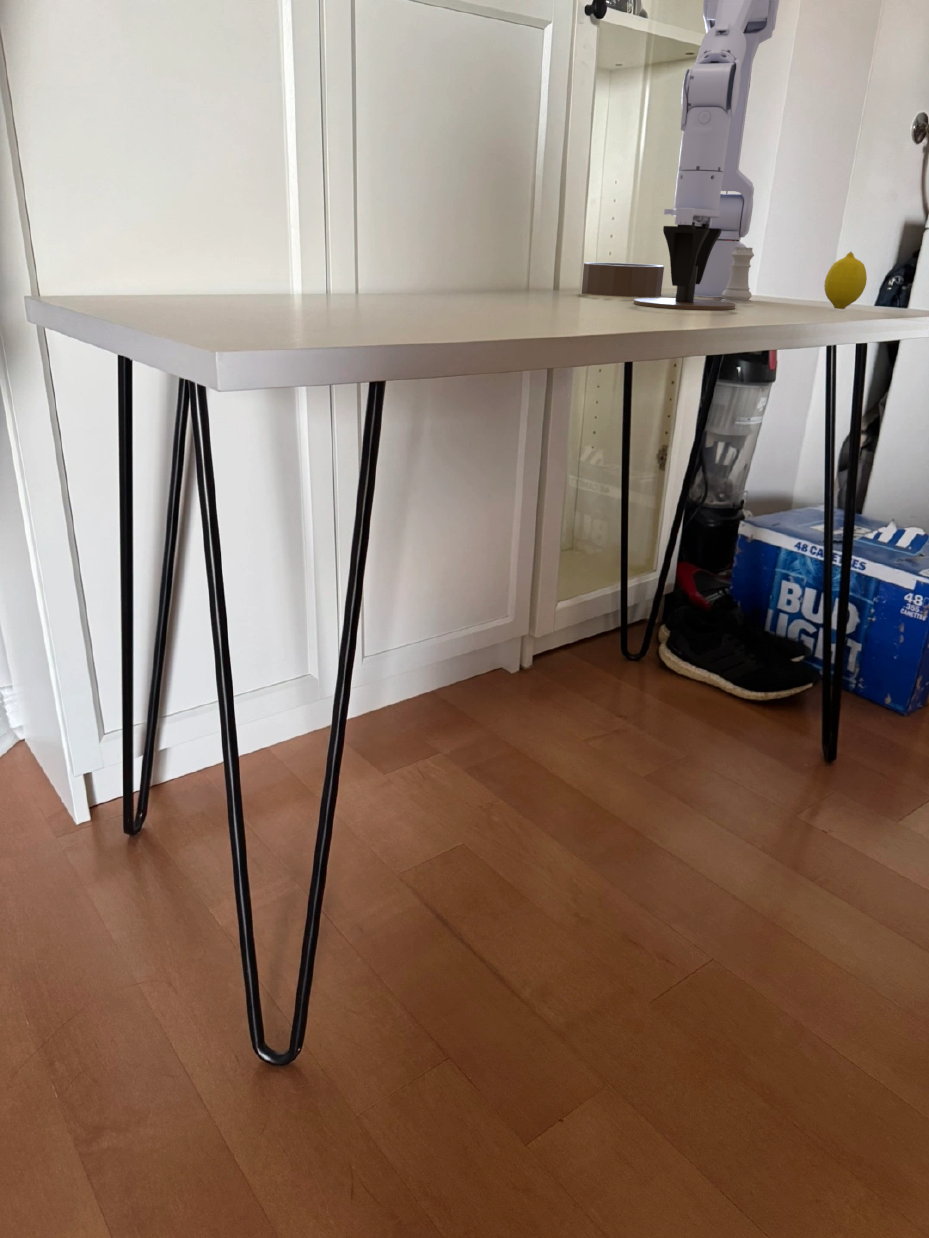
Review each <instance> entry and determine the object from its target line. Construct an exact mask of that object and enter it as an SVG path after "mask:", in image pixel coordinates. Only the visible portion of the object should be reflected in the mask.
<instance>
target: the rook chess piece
mask: <svg viewBox="0 0 929 1238" xmlns="http://www.w3.org/2000/svg"><path fill="white" fill-rule="evenodd" d="M746 247H747V246H746ZM746 247H744V248H743V247H735V249H734V251H733V253H732V254H731V255H732V257H733V264H732V265H731V266H732V272H731V276H730V280H729V283H728V285H727V287H726V290H725V291H724V292H723V293H722V297H721V298H722V299H721V300H720V301H722V302H729V303H734V304H737V303H738V304H750V303H751V304H752V302H751V301H750V299H751V298H752V297H753V295H752V293H751V291H750V287H749V286H750V285H749V272H750V268H751V266H752V265H751V260H752V259H753V257H754V256H755V253H754V252H753V249H754V248H753V247H747V248H746Z"/></svg>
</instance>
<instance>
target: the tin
mask: <svg viewBox="0 0 929 1238" xmlns="http://www.w3.org/2000/svg"><path fill="white" fill-rule="evenodd" d="M664 271H665V266H664V265H661V264H650V263H649V264H648V263H647V264H646V263H630V262H629V263H628V262H627V263H626V262H595V261H594V262H593V261H592V262H591V261H590V262H583V269H582V282H581V295H596V296H610V297H631V298H634V297H635V298H658V297H661V295H662V290H663V282H664V281H663V280H664Z"/></svg>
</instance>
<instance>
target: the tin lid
mask: <svg viewBox="0 0 929 1238" xmlns="http://www.w3.org/2000/svg"><path fill="white" fill-rule="evenodd" d="M697 270H698V266H695V268H694V272H693V276H692V279H691V282H690V284H689V286H688V287H687V286H676V292H675V293H676V294H675V297H637V298H634V299H633V305H636V306H641V307H650V308H651V307H652V308H661V309H674V310H692V311H693V310H695V311H729V310H734V309H736V306H737V303H734V302H723V301H721V300H712V299H699V298H696V299H695V296H694V293H695V286H696V278H697Z"/></svg>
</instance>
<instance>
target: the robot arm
mask: <svg viewBox="0 0 929 1238" xmlns="http://www.w3.org/2000/svg"><path fill="white" fill-rule="evenodd" d="M702 3H703V4H702V5H703V6H702V17H703V20H704V27H705V35H704V36H703V38H702V40H701V43H700V46H699V49H698V52H697V56H696V59H695V61H694V64H693V65H692V68H691V69H689V68H686V70H685V73H684V77H683V80H682V81H683V82H682V89H681V118H680V131H681V132H682V134H681V141H680V150H679V157H678V168H677V174H676V175H677V176H676V186H675V194H674V201H673V208H664V210H663V215H664V216H671V217H674V218H675V220H674V225H663V228H662V231H663V235H664V238H665V241H666V244H667V249H668V253H669V264H670V266H669V267H670V278H671V285H672V286H673V287H677V286H687V287H688V286H689V284H690V282H691V279H692V276H693V272H694V268H695V266H698V270H697V278H696V286H695V293H694V297H704V298H705V297H706V298H723V297H722V293H723V292H724V291H725V290H726V287H727V285H728V283H729V280H730V276H731V272H732V266H731V265H732V264H733V257H732V255H731V254H732V253H733V251H734V249H735V247H743V248H744V247H746V248H748V247H747V246H746V245H745V244H744V243H743V242H741V241H740V240H741V238H745V237H746V236H747V235H748V234H749V232H750V227H751V222H752V217H753V208H754V194H755V187H754V185H753V184H754V183H753V181H751V179H750V178H748V176H746V175H745V174H744V173H743V172H742V171H741V170H740V161H741V154H742V147H743V138H744V133H745V132H744V131H745V125H746V124H745V123H746V117H747V116H746V115H747V109H748V108H747V107H748V101H749V93H750V87H751V78H752V72H753V63H754V60H755V57H756V53H757V51H758V48H759V46H760V44H762V43H765V41H767V40H770V39H771V38H772V37H773V34H774V33H773V32H774V31H775V29H776V24H777V23H776V22H777V16H778V10H779V5H780V0H703V1H702ZM722 192H735V193H722ZM673 294H674V295H676V292H674V293H673Z"/></svg>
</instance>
